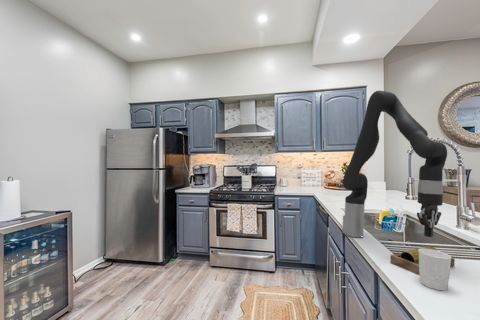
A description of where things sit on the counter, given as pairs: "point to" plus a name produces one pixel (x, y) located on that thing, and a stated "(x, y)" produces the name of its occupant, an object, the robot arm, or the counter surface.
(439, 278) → the white cup
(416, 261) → the vase
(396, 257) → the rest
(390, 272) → the counter surface
